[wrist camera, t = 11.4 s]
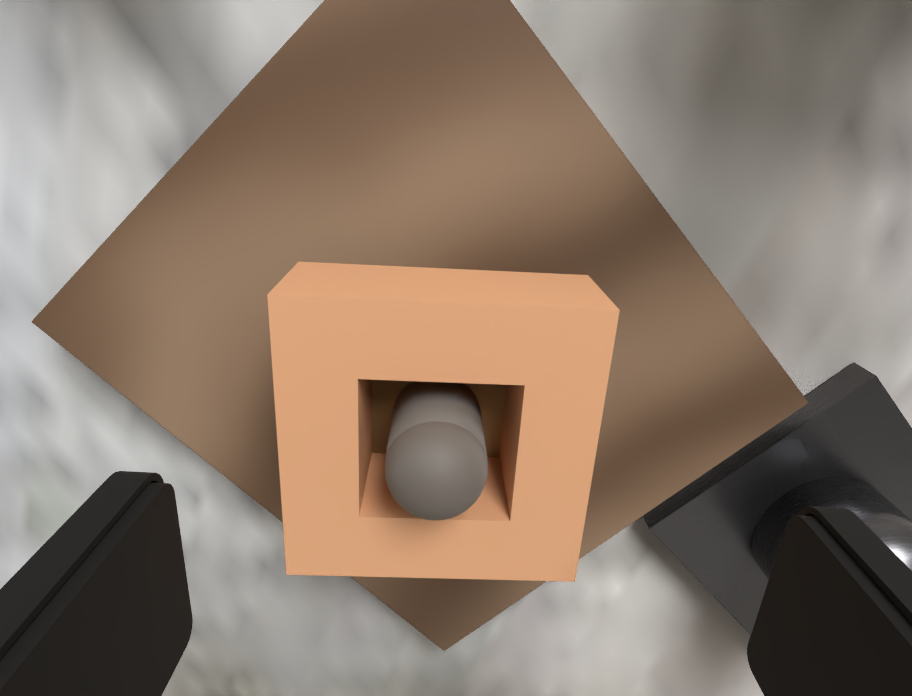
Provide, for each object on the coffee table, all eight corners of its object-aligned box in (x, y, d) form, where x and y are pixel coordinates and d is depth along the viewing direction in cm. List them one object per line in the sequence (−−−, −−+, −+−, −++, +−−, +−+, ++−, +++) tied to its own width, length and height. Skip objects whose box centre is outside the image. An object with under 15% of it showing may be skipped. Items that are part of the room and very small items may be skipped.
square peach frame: (588, 275, 13) (619, 309, 11) (554, 511, 15) (575, 581, 13) (298, 261, 13) (267, 294, 11) (310, 503, 15) (286, 574, 13)
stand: (962, 519, 20) (1292, 778, 12) (761, 637, 22) (938, 928, 14) (854, 362, 18) (1177, 558, 10) (639, 508, 20) (771, 771, 12)
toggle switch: (780, 380, 18) (991, 547, 11) (443, 616, 21) (445, 858, 14) (428, -89, 13) (414, -304, 6) (65, 304, 17) (-204, 441, 10)
